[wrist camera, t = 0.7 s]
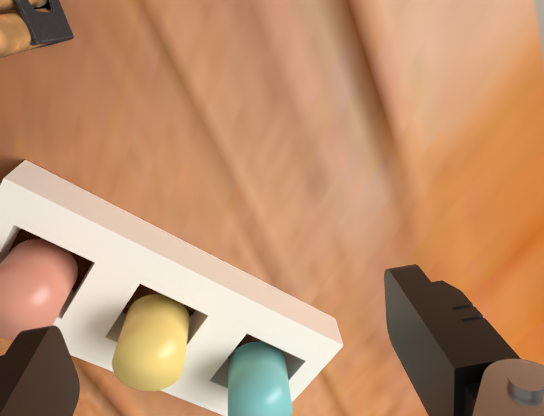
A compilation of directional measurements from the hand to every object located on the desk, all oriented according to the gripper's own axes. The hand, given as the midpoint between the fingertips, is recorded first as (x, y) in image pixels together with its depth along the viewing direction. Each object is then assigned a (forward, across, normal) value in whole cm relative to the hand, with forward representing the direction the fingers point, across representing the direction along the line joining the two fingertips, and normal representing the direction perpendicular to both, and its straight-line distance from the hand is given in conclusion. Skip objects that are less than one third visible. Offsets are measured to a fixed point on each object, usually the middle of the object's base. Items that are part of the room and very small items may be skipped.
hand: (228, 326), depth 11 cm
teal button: (+18, +1, +16) cm, 24 cm away
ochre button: (+17, +7, +11) cm, 22 cm away
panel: (+20, +6, +11) cm, 23 cm away
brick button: (+17, +13, +6) cm, 22 cm away
